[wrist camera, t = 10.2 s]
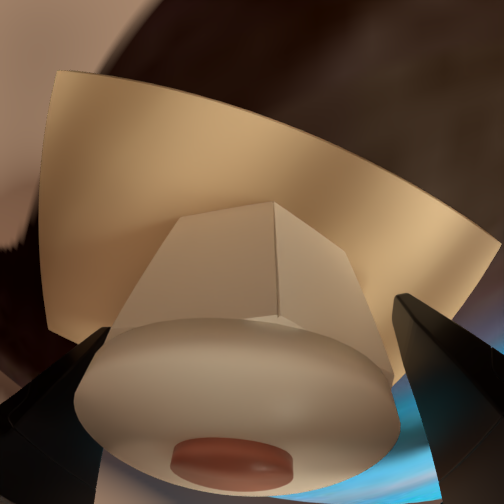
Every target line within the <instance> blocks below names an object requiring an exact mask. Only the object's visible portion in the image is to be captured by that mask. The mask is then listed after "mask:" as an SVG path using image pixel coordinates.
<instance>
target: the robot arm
mask: <svg viewBox="0 0 504 504" xmlns="http://www.w3.org/2000/svg"><path fill="white" fill-rule="evenodd" d="M392 324H393V328H394V331H395V335H396V339H397V343H398V346H399V350H400V354H401V359H402V362H403V366H404V369H405V372H406V375H407V377H408V380H409V383H410V386H411V389H412V392H413V395H414V398H415V400H416V404H417V407H418V410H419V413H420V416H421V419H422V422H423V426H424V429H425V432H426V436H427V439H428V443H429V446H430V450H431V453H432V457H433V461H434V465H435V469H436V473H437V477H438V481H439V486H440V491H441V496H442V500H443V502H442V503H441V504H504V355H503V354H502V353H500V352H499V351H497V350H496V349H494V348H493V347H492V348H491V346H490V345H488V344H487V343H485V342H484V341H482V340H481V339H479V338H478V337H476V336H475V335H473V334H472V333H470V332H469V331H467V330H466V329H464V328H463V327H461V326H460V325H458V324H457V323H455V322H454V321H452V320H450V319H449V318H447V317H446V316H444V315H443V314H441V313H440V312H438V311H436V310H435V309H433V308H432V307H430V306H429V305H427V304H425V303H424V302H422V301H421V300H419V299H417V298H416V297H414V296H412V295H411V294H409V293H402V294H397V295H396V296H395V297H394V302H393V310H392ZM110 329H111V327H101V328H99V329H98V330H97V331H95V332H94V333H93V334H91V335H90V336H89V337H87V338H86V339H85V340H83V341H82V342H81V343H80V344H78V345H77V346H76V347H74V348H73V349H72V350H70V351H69V352H68V353H67V354H65V355H64V356H63V357H61V358H60V359H59V360H57V361H56V362H55V363H54V364H52V365H51V366H50V367H48V368H47V369H46V370H45V371H43V372H42V373H41V374H40V375H38V376H37V377H36V378H35V379H33V380H32V381H31V382H29V383H28V384H27V385H26V386H24V387H23V388H22V389H21V390H19V391H18V392H17V393H15V394H14V395H13V396H11V397H10V398H9V399H7V400H6V401H4V402H3V403H2V404H0V504H94V499H95V493H96V485H97V479H98V473H99V468H100V462H101V456H102V452H103V447H102V446H100V445H99V444H98V443H97V442H96V441H95V440H94V439H93V438H92V437H91V436H90V435H89V433H88V432H87V431H86V430H85V429H84V427H83V426H82V424H81V422H80V421H79V419H78V417H77V414H76V412H75V407H74V395H75V392H76V390H77V388H78V386H79V384H80V382H81V380H82V378H83V376H84V374H85V372H86V370H87V368H88V366H89V364H90V363H91V361H92V359H93V357H94V355H95V353H96V352H97V351H98V350H99V349H100V348H101V347H102V346H103V345H104V342H105V340H106V338H107V335H108V333H109V331H110Z"/></svg>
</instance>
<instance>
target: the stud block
mask: <svg viewBox="0 0 504 504" xmlns="http://www.w3.org/2000/svg"><path fill="white" fill-rule="evenodd" d="M270 201H272V202H276V203H277V204H278V205H280V206H281V207H283V208H284V209H286V210H287V211H289V212H290V213H292V214H293V215H294V216H296V217H297V218H299V219H300V220H302V221H303V222H304V223H306V224H307V225H309V226H310V227H312V228H313V229H314V230H316V231H317V232H319V233H320V234H321V235H323V236H324V237H326V238H327V239H328V240H330V241H331V242H332V243H334V244H335V245H337V246H338V247H339V248H341V249H342V250H343V251H345V253H346V255H347V257H348V259H349V262H350V264H351V266H352V268H353V271H354V273H355V275H356V278H357V280H358V282H359V285H360V287H361V289H362V292H363V294H364V296H365V299H366V301H367V304H368V306H369V309H370V311H371V313H372V316H373V318H374V321H375V324H376V326H377V329H378V331H379V334H380V336H381V339H382V342H383V344H384V347H385V350H386V353H387V355H388V358H389V361H390V364H391V367H392V369H393V372H394V375H395V377H394V381H393V384H392V386H393V385H394V384H395V383H396V382H397V381H398V380H399V379H400V378H401V377H402V376H403V375H404V374H405V373H406V372H405V369H404V366H403V362H402V359H401V354H400V350H399V346H398V343H397V339H396V335H395V331H394V328H393V324H392V310H393V302H394V297H395V296H396V295H397V294H402V293H409V294H411V295H412V296H414V297H416V298H417V299H419V300H421V301H422V302H424V303H425V304H427V305H429V306H430V307H432V308H433V309H435V310H436V311H438V312H440V313H441V314H443V315H444V316H446V317H447V318H449V319H450V320H452V318H453V317H454V316H455V314H456V313H457V312H458V310H459V309H460V308H461V306H462V305H463V303H464V302H465V301H466V299H467V298H468V296H469V295H470V294H471V292H472V291H473V289H474V288H475V286H476V285H477V283H478V282H479V280H480V279H481V277H482V276H483V274H484V273H485V271H486V269H487V268H488V266H489V265H490V263H491V261H492V260H493V258H494V256H495V255H496V253H497V251H498V249H499V248H500V246H501V243H500V242H499V241H497V240H496V239H495V238H494V237H493V236H491V235H490V234H489V233H488V232H486V231H485V230H484V229H482V228H481V227H479V226H478V225H477V224H475V223H474V222H472V221H471V220H469V219H468V218H466V217H465V216H463V215H462V214H460V213H459V212H457V211H456V210H454V209H453V208H451V207H450V206H448V205H447V204H445V203H443V202H442V201H440V200H439V199H437V198H435V197H434V196H432V195H430V194H429V193H427V192H425V191H424V190H422V189H420V188H419V187H417V186H415V185H413V184H412V183H410V182H408V181H406V180H405V179H403V178H401V177H399V176H397V175H395V174H394V173H392V172H390V171H388V170H386V169H384V168H382V167H380V166H378V165H376V164H374V163H372V162H370V161H368V160H366V159H364V158H362V157H360V156H358V155H356V154H354V153H352V152H350V151H348V150H346V149H344V148H341V147H339V146H337V145H335V144H333V143H330V142H328V141H326V140H324V139H321V138H319V137H317V136H314V135H312V134H309V133H307V132H305V131H302V130H300V129H297V128H295V127H292V126H290V125H287V124H284V123H282V122H279V121H277V120H274V119H271V118H268V117H266V116H263V115H260V114H257V113H254V112H251V111H248V110H245V109H242V108H239V107H236V106H233V105H230V104H227V103H224V102H220V101H217V100H214V99H210V98H207V97H203V96H200V95H196V94H192V93H189V92H185V91H181V90H177V89H173V88H169V87H165V86H160V85H156V84H151V83H147V82H142V81H137V80H132V79H126V78H121V77H115V76H109V75H102V74H96V73H87V72H80V71H62V70H61V71H60V70H58V71H57V73H56V78H55V82H54V86H53V90H52V95H51V100H50V105H49V110H48V115H47V121H46V128H45V134H44V142H43V150H42V160H41V171H40V186H39V252H40V268H41V279H42V289H43V297H44V305H45V312H46V318H47V324H48V329H49V330H51V331H52V332H54V333H56V334H58V335H60V336H62V337H65V338H67V339H69V340H71V341H73V342H75V343H77V344H80V343H81V342H82V341H83V340H85V339H86V338H87V337H89V336H90V335H91V334H93V333H94V332H95V331H97V330H98V329H99V328H101V327H112V325H113V323H114V322H115V320H116V318H117V316H118V315H119V313H120V311H121V309H122V308H123V306H124V304H125V303H126V301H127V299H128V298H129V296H130V294H131V293H132V291H133V289H134V288H135V286H136V284H137V283H138V281H139V279H140V278H141V276H142V275H143V273H144V271H145V270H146V268H147V267H148V265H149V263H150V262H151V260H152V259H153V257H154V256H155V254H156V253H157V251H158V249H159V248H160V246H161V245H162V243H163V242H164V240H165V239H166V237H167V236H168V234H169V233H170V231H171V230H172V228H173V227H174V225H175V224H176V222H177V221H178V219H179V218H180V217H183V216H188V215H194V214H199V213H205V212H210V211H216V210H221V209H227V208H233V207H239V206H245V205H251V204H257V203H264V202H270Z"/></svg>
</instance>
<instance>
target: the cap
mask: <svg viewBox="0 0 504 504" xmlns="http://www.w3.org/2000/svg"><path fill="white" fill-rule="evenodd" d="M394 377H395V375H394V372H393V369H392V367H391V364H390V361H389V358H388V355H387V353H386V350H385V347H384V344H383V342H382V339H381V336H380V334H379V331H378V329H377V326H376V324H375V321H374V318H373V316H372V313H371V311H370V309H369V306H368V304H367V301H366V299H365V296H364V294H363V292H362V289H361V287H360V285H359V282H358V280H357V278H356V275H355V273H354V271H353V268H352V266H351V264H350V262H349V259H348V257H347V255H346V253H345V251H343V250H342V249H341V248H339V247H338V246H337V245H335V244H334V243H332V242H331V241H330V240H328V239H327V238H326V237H324V236H323V235H321V234H320V233H319V232H317V231H316V230H314V229H313V228H312V227H310V226H309V225H307V224H306V223H304V222H303V221H302V220H300V219H299V218H297V217H296V216H294V215H293V214H292V213H290V212H289V211H287V210H286V209H284V208H283V207H281V206H280V205H278V204H277V203H276V202H272V201H270V202H264V203H257V204H251V205H245V206H239V207H233V208H227V209H221V210H216V211H210V212H205V213H199V214H194V215H188V216H183V217H180V218H179V219H178V221H177V222H176V224H175V225H174V227H173V228H172V230H171V231H170V233H169V234H168V236H167V237H166V239H165V240H164V242H163V243H162V245H161V246H160V248H159V249H158V251H157V253H156V254H155V256H154V257H153V259H152V260H151V262H150V263H149V265H148V267H147V268H146V270H145V271H144V273H143V275H142V276H141V278H140V279H139V281H138V283H137V284H136V286H135V288H134V289H133V291H132V293H131V294H130V296H129V298H128V299H127V301H126V303H125V304H124V306H123V308H122V309H121V311H120V313H119V315H118V316H117V318H116V320H115V322H114V323H113V325H112V327H111V329H110V331H109V333H108V335H107V338H106V340H105V342H104V345H103V346H102V347H101V348H100V349H99V350H98V351H97V352H96V353H95V355H94V357H93V359H92V361H91V363H90V364H89V366H88V368H87V370H86V372H85V374H84V376H83V378H82V380H81V382H80V384H79V386H78V388H77V390H76V392H75V395H74V407H75V412H76V414H77V417H78V419H79V421H80V422H81V424H82V426H83V427H84V429H85V430H86V431H87V432H88V433H89V435H90V436H91V437H92V438H93V439H94V440H95V441H96V442H97V443H98V444H99V445H100V446H102V447H103V448H104V449H106V450H107V451H108V452H109V453H111V454H112V455H114V456H115V457H117V458H118V459H120V460H121V461H123V462H125V463H126V464H128V465H130V466H132V467H133V468H135V469H137V470H139V471H141V472H144V473H146V474H148V475H150V476H153V477H155V478H158V479H160V480H163V481H166V482H169V483H172V484H175V485H179V486H182V487H186V488H190V489H194V490H199V491H204V492H210V493H216V494H224V495H235V496H277V495H287V494H295V493H301V492H306V491H311V490H316V489H320V488H323V487H327V486H330V485H333V484H336V483H339V482H342V481H344V480H347V479H349V478H351V477H354V476H356V475H358V474H360V473H362V472H363V471H365V470H367V469H369V468H370V467H372V466H373V465H375V464H376V463H377V462H379V461H380V460H381V459H382V458H383V457H385V456H386V455H387V454H388V452H389V451H390V450H391V449H392V448H393V446H394V445H395V443H396V442H397V440H398V437H399V434H400V420H399V416H398V413H397V409H396V406H395V403H394V399H393V396H392V393H391V388H392V384H393V381H394Z"/></svg>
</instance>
